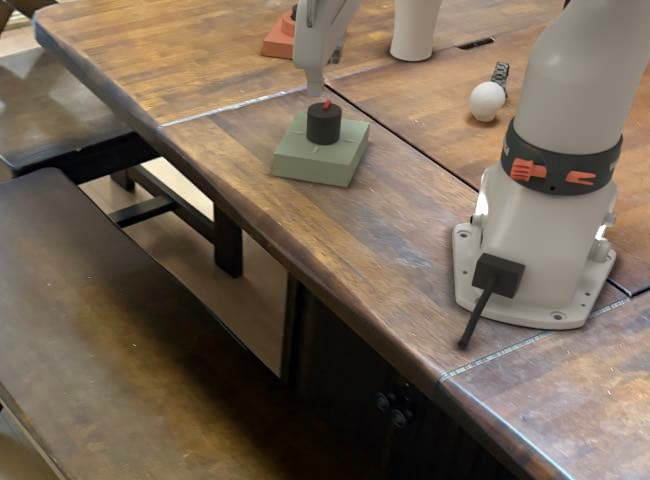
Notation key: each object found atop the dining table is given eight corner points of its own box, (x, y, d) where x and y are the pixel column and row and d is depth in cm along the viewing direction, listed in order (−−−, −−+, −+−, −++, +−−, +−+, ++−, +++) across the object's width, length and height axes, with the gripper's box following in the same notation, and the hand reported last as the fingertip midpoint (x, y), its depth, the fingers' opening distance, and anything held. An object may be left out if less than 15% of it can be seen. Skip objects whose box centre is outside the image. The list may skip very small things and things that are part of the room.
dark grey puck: (313, 26, 135) (314, 14, 134) (289, 23, 136) (289, 10, 134) (320, 16, 137) (321, 4, 136) (295, 13, 138) (296, 1, 137)
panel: (347, 187, 112) (349, 164, 109) (272, 175, 113) (273, 151, 111) (367, 144, 119) (370, 121, 116) (297, 133, 121) (298, 110, 118)
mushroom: (499, 129, 121) (507, 92, 118) (464, 125, 122) (471, 89, 118) (501, 113, 124) (509, 77, 121) (467, 109, 125) (474, 73, 121)
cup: (372, 63, 135) (383, -37, 124) (382, 36, 141) (393, -61, 131) (440, 70, 133) (457, -30, 123) (447, 43, 140) (463, -55, 129)
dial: (335, 147, 112) (337, 117, 109) (302, 142, 113) (303, 112, 110) (343, 131, 115) (345, 102, 112) (310, 126, 115) (312, 97, 112)
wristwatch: (482, 106, 129) (486, 90, 124) (494, 72, 128) (499, 55, 123) (502, 112, 128) (507, 96, 123) (514, 77, 128) (520, 60, 123)
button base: (324, 63, 135) (326, 36, 132) (262, 55, 137) (263, 27, 134) (342, 33, 142) (344, 6, 139) (283, 26, 144) (284, -1, 141)
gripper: (340, -13, 91) (328, 120, 101) (381, -77, 103) (366, 47, 114) (282, -21, 92) (276, 111, 103) (329, -83, 104) (320, 41, 115)
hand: (324, 77), depth 108 cm, fingers open, 8 cm apart
